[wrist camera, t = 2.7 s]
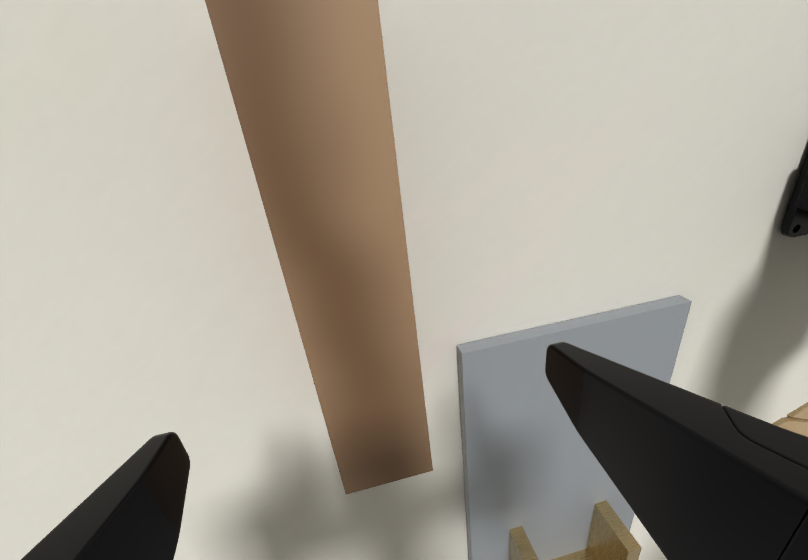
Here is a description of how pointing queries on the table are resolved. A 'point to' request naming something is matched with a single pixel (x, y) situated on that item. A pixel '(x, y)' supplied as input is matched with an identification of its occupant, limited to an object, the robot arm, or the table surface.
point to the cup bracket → (607, 542)
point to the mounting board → (547, 428)
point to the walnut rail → (334, 216)
